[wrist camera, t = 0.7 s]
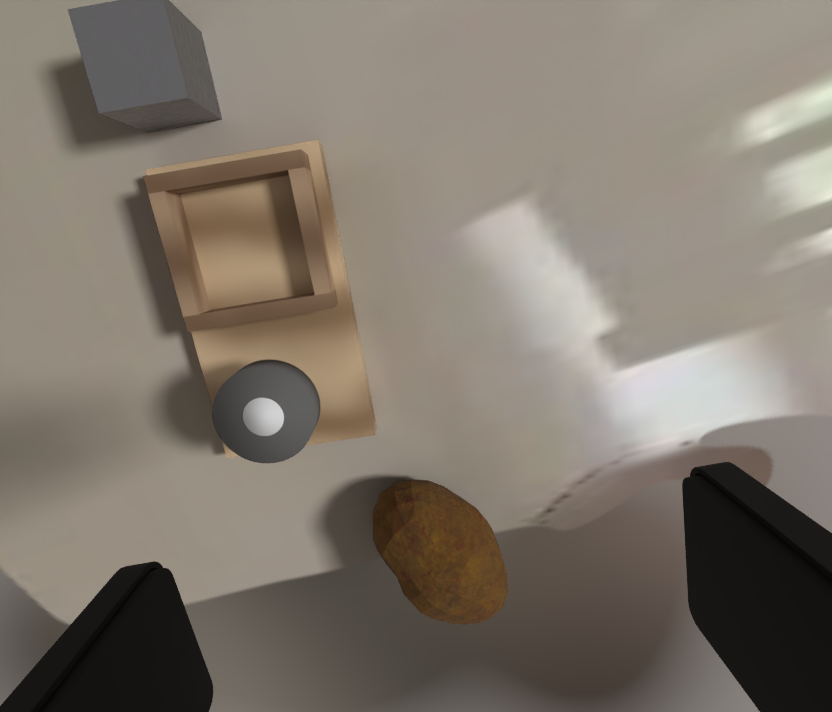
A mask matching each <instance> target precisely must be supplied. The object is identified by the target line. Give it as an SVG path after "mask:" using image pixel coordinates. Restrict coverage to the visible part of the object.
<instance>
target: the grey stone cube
mask: <svg viewBox="0 0 832 712" xmlns="http://www.w3.org/2000/svg"><path fill="white" fill-rule="evenodd" d="M68 12H69V15H70V19H71V22H72V25H73V29H74V32H75V36H76V39H77V42H78V46H79V49H80V52H81V56H82V59H83V62H84V66H85V69H86V73H87V76H88V79H89V83H90V86H91V89H92V93H93V96H94V99H95V103H96V106H97V109H98V113H99V114H102V115H104V116H107V117H109V118H112V119H114V120H117V121H119V122H122V123H124V124H127V125H129V126H132V127H134V128H137V129H139V130H142V131H144V132H151V131H157V130H163V129H169V128H174V127H180V126H186V125H192V124H197V123H203V122H209V121H215V120H220V119H222V117H221V112H220V108H219V104H218V100H217V96H216V92H215V87H214V83H213V79H212V75H211V71H210V66H209V62H208V58H207V54H206V50H205V46H204V41H203V37H202V33H201V31H200V30H199V29H198V28H197V27H196V26H195V25H194V24H193V23H192V22H191V21H190V20H189V19H188V18H186V17H185V16H184V15H183V14H182V13H181V12H180V11H179V10H178V9H177V8H176V7H175V6H174V5H173V4H172V3H171V2H170V1H169V0H118V1H112V2H107V3H101V4H96V5H90V6H84V7H79V8H73V9H68Z"/></svg>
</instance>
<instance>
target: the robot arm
mask: <svg viewBox="0 0 832 712" xmlns="http://www.w3.org/2000/svg"><path fill="white" fill-rule="evenodd" d="M682 486H683V487H682V488H683V508H684V526H685V547H686V566H687V584H688V602H689V608H690V612H691V615H692V617H693V619H694V621H695V623H696V625H697V626H698V628H699V629H700V631H701V632H702V633H703V635H704V636H705V638H706V639H707V640H708V642H709V643H710V644H711V646H712V647H713V648H714V650H715V651H716V653H717V654H718V655H719V657H720V658H721V659H722V661H723V662H724V663H725V665H726V666H727V667H728V669H729V670H730V672H731V673H732V674H733V675H734V677H735V678H736V680H737V681H738V682H739V684H740V685H741V686H742V688H743V689H744V690H745V692H746V693H747V695H748V696H749V697H750V699H751V700H752V701H753V703H754V704H755V705H756V707H757V708H758V710H759V711H760V712H832V533H830V532H829V531H828V530H826V529H825V528H823V527H822V526H820V525H819V524H818V523H816V522H815V521H813V520H812V519H811V518H809V517H808V516H806V515H805V514H804V513H802V512H801V511H799V510H798V509H796V508H795V507H794V506H792V505H791V504H789V503H788V502H787V501H785V500H784V499H782V498H781V497H779V496H778V495H776V494H775V493H774V492H772V491H771V490H770V489H768V488H767V487H765V486H764V485H762V484H761V483H760V482H758V481H757V480H755V479H754V478H753V477H751V476H750V475H748V474H747V473H745V472H744V471H743V470H741V469H740V468H738V467H737V466H736V465H734V464H732V463H730V462H723V463H717V464H712V465H706V466H700V467H695V468H693V469H692V471H691V473H690V477H687V478H685V479H684V480H683V484H682ZM212 698H213V684H212V680H211V678H210V675H209V672H208V669H207V667H206V664H205V661H204V659H203V656H202V653H201V650H200V648H199V645H198V642H197V640H196V637H195V634H194V632H193V629H192V626H191V624H190V621H189V618H188V615H187V613H186V610H185V607H184V604H183V602H182V599H181V596H180V593H179V591H178V588H177V585H176V583H175V580H174V577H173V575H172V573H171V571H170V570H169V569H167V568H163V567H162V565H161V564H159V563H158V562H149V563H143V564H137V565H131V566H126V567H123V568H121V569H119V570H118V571H117V572H116V573H115V574H114V575H113V577H112V578H111V579H110V580H109V581H108V582H107V584H106V585H105V586H104V587H103V588H102V589H101V590H100V592H99V593H98V594H97V595H96V596H95V597H94V599H93V600H92V601H91V602H90V603H89V604H88V605H87V607H86V608H85V609H84V610H83V611H82V612H81V614H80V615H79V616H78V617H77V618H76V619H75V620H74V622H73V623H72V624H71V625H70V626H69V627H68V629H67V630H66V631H65V632H64V633H63V634H62V636H61V637H60V638H59V639H58V641H56V642H55V644H54V645H53V646H52V647H51V648H50V649H49V650H48V652H47V653H46V654H45V655H44V656H43V657H42V659H41V660H40V661H39V662H38V663H37V664H36V666H35V667H34V668H33V669H32V670H31V671H30V673H29V674H28V675H27V676H26V677H25V678H24V679H23V681H22V682H21V683H20V684H19V685H18V686H17V687H16V689H15V690H14V691H13V692H12V693H11V695H9V697H8V698H7V699H6V700H5V701H4V702H3V704H2V705H1V706H0V712H209V709H210V706H211V703H212Z"/></svg>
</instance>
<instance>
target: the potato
mask: <svg viewBox="0 0 832 712" xmlns="http://www.w3.org/2000/svg"><path fill="white" fill-rule="evenodd" d="M373 540H374V543H375V545H376V548H377V550H378V552H379V553H380V555H381V557H382V558H383V560H384V561H385V563H386V564H387V565H388V566H389V568H390V569H391V570H392V571H393V573H394V574H395V575H396V576H397V578H398V581H399V583H400V586H401V588H402V591H403V593H404V595H405V596H406V597H407V598H408V599H409V600H410V601H411V602H412V604H413V605H414V606H415V607H416V608H417V609H418V610H419V611H420V613H422V614H425V615H426V616H428V617H430V618H433V619H437V620H440V621H444V622H448V623H453V624H473V623H480V622H483V621H486V620H488V619H490V618H491V617H493V616H494V615H495V614H496V613H497V612H498V611H499V610H501V609H502V608H503V606H504V603H505V599H506V596H507V593H508V587H507V573H506V569H505V565H504V561H503V558H502V555H501V552H500V548H499V545H498V543H497V540H496V538H495V535H494V533H493V530H492V528H491V526H490V525H489V523H488V522H487V520H486V519H485V518H484V517H483V516H482V514H481V513H480V512H479V511H478V510H477V509H476V508H475V507H474V506H472V505H471V504H469V503H468V502H467V501H465V500H464V499H462V498H461V497H459V496H458V495H456V494H454V493H453V492H451V491H450V490H448V489H447V488H445V487H444V486H441V485H438V484H436V483H433V482H430V481H427V480H408V481H402V482H397V483H396V484H394V485H393V486H391V487H390V488H388V489H387V490H385V491H384V492H382V493H381V495H380V497H379V499H378V501H377V504H376V506H375V508H374V512H373Z"/></svg>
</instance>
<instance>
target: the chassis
mask: <svg viewBox="0 0 832 712" xmlns="http://www.w3.org/2000/svg"><path fill="white" fill-rule="evenodd" d="M145 171H146V174H147V176H143V178H144V181H145V185H146V188H147V192H148V195H149V199H150V202H151V206H152V209H153V213H154V216H155V220H156V223H157V227H158V230H159V234H160V237H161V241H162V244H163V248H164V251H165V255H166V258H167V262H168V265H169V269H170V272H171V276H172V279H173V283H174V286H175V290H176V293H177V297H178V301H179V304H180V308H181V311H182V315H183V318H184V322H185V325H186V329H187V332H191V333H192V337H193V340H194V344H195V348H196V351H197V355H198V358H199V362H200V365H201V369H202V372H203V376H204V379H205V383H206V386H207V390H208V394H209V397H210V401H211V404H212V408H213V403H214V399H215V396H216V394H217V392H218V390H219V389H220V387H221V386H222V385H223V383H224V382H225V381H226V380H228V379H229V378H230V377H231V376H233V375H234V374H235V373H236V372H238V371H239V370H240V369H242V368H243V367H244V366H246V365H248V364H250V363H253V362H255V361H259V360H267V359H271V360H280V361H284V362H287V363H290V364H292V365H294V366H296V367H297V368H299V369H300V370H302V371H303V372H304V373H305V374H306V375H307V376H308V377H309V378H310V379H311V381H312V382H313V384H314V385H315V387H316V389H317V391H318V394H319V398H320V416H319V420H318V422H317V425H316V427H315V429H314V431H313V433H312V435H311V437H310V439H309V441H308V442H307V444H306V445H313V444H319V443H326V442H332V441H338V440H345V439H351V438H358V437H364V436H370V435H375V433H376V421H375V416H374V411H373V406H372V401H371V396H370V391H369V386H368V380H367V375H366V370H365V365H364V360H363V355H362V350H361V345H360V339H359V334H358V329H357V324H356V319H355V314H354V309H353V303H352V298H351V293H350V288H349V283H348V278H347V273H346V268H345V262H344V257H343V252H342V247H341V242H340V237H339V232H338V227H337V221H336V216H335V211H334V206H333V201H332V196H331V191H330V186H329V180H328V175H327V170H326V165H325V160H324V155H323V150H322V145H321V144H320V142H319V141H318V140H315V141H309V142H303V143H297V144H292V145H286V146H280V147H274V148H268V149H263V150H257V151H251V152H245V153H239V154H234V155H228V156H222V157H216V158H210V159H205V160H199V161H193V162H187V163H181V164H176V165H170V166H164V167H158V168H152V169H147V170H145ZM222 443H223V441H222ZM306 445H305V446H306ZM223 447H224V450H225V454H226V457H227V458H230V457H236V456H239V455H237V454H236V453H234V452H233V451H231V450H230V449H229V448H228V447H227V446H226V445H225V444H224V443H223Z"/></svg>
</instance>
